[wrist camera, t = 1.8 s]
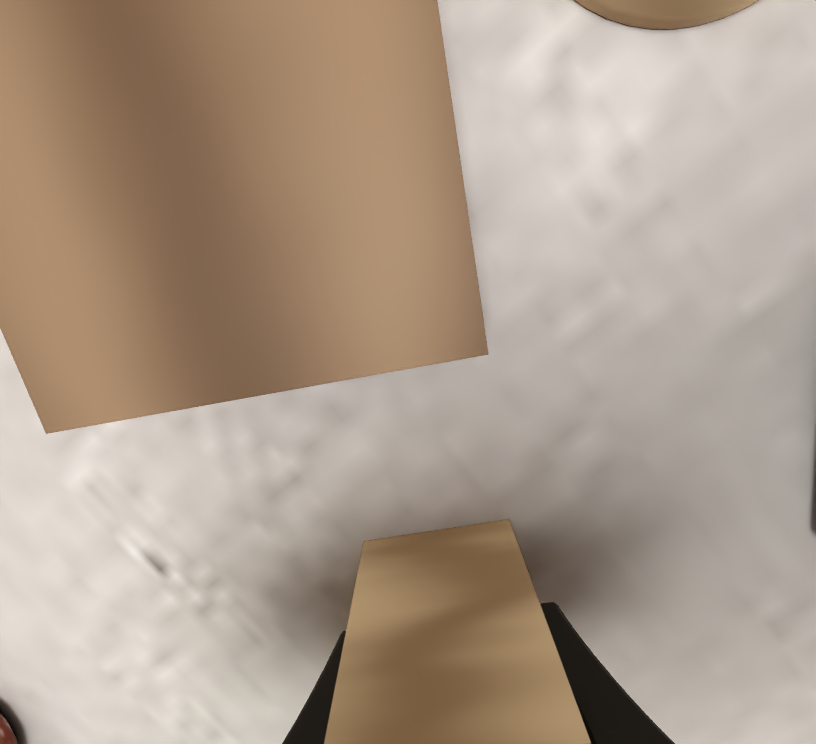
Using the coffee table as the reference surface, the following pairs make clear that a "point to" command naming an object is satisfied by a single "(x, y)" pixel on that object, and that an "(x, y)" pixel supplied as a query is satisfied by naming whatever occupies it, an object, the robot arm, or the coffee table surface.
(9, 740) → the supplement bottle
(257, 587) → the coffee table surface
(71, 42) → the walnut slab
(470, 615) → the oak block
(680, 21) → the cork coaster
